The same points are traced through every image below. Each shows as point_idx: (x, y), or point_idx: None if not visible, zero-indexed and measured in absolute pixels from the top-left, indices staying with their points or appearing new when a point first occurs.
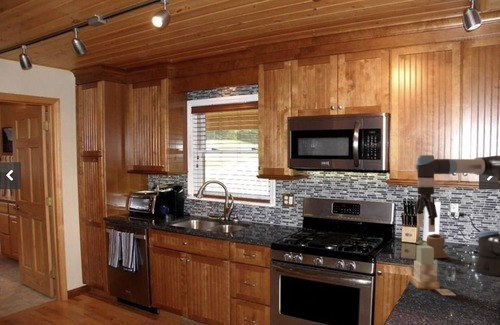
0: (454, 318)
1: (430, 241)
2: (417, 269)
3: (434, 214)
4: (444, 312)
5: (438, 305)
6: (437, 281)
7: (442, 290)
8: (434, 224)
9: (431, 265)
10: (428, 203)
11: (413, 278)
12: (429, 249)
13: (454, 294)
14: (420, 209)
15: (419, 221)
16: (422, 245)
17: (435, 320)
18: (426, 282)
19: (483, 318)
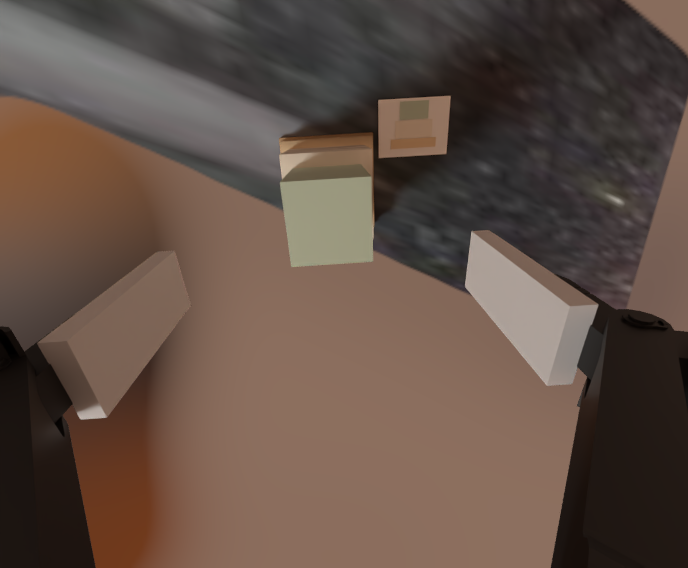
0: (643, 201)
1: None
2: None
3: (675, 361)
4: (596, 213)
5: (540, 210)
6: (359, 140)
7: (400, 134)
8: (563, 278)
9: (372, 180)
10: None
11: None
12: (371, 206)
13: (444, 99)
14: (68, 480)
15: (158, 323)
16: (287, 228)
17: (640, 260)
18: (373, 194)
19: (671, 100)
